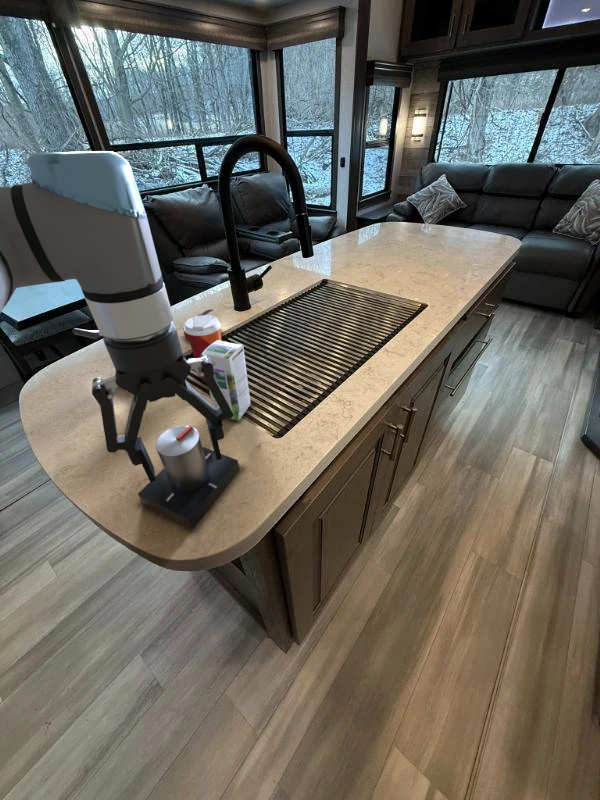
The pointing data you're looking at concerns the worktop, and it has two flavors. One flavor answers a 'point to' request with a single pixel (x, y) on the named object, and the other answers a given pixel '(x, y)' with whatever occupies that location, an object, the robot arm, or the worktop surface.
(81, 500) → the worktop surface
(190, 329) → the paper cup
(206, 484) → the control panel
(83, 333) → the lever
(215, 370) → the syrup box
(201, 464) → the dial
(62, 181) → the robot arm
